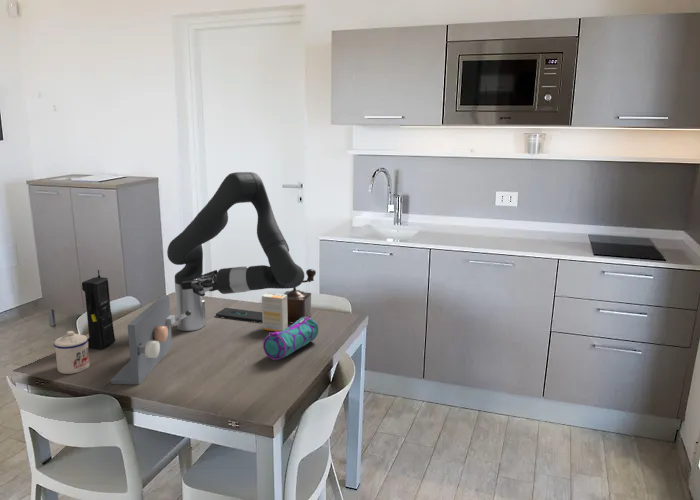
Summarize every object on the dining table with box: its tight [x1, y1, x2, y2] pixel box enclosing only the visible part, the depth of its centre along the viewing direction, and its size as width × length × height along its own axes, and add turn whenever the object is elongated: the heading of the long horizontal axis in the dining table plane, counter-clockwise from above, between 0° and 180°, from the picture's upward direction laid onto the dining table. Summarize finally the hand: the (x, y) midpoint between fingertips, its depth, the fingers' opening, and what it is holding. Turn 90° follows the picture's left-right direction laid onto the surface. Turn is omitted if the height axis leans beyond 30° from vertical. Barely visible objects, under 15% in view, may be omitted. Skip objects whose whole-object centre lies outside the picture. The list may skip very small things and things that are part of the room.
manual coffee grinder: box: [283, 268, 317, 324], centre depth 209 cm, size 16×11×18 cm
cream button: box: [137, 341, 160, 358], centre depth 154 cm, size 7×5×5 cm
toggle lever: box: [175, 310, 191, 322], centre depth 176 cm, size 6×2×2 cm, turn 88°
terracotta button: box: [153, 326, 168, 342], centre depth 165 cm, size 7×5×5 cm
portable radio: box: [81, 270, 116, 350], centre depth 177 cm, size 8×6×25 cm
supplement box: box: [261, 292, 289, 332], centre depth 196 cm, size 8×5×13 cm, turn 71°
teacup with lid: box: [53, 330, 90, 375], centre depth 164 cm, size 12×9×12 cm
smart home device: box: [215, 307, 263, 323], centre depth 210 cm, size 8×2×20 cm
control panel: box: [110, 294, 176, 385], centre depth 165 cm, size 10×27×18 cm, turn 178°
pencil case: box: [262, 316, 319, 361], centre depth 179 cm, size 21×9×10 cm, turn 152°
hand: (182, 285), depth 162 cm, fingers closed
